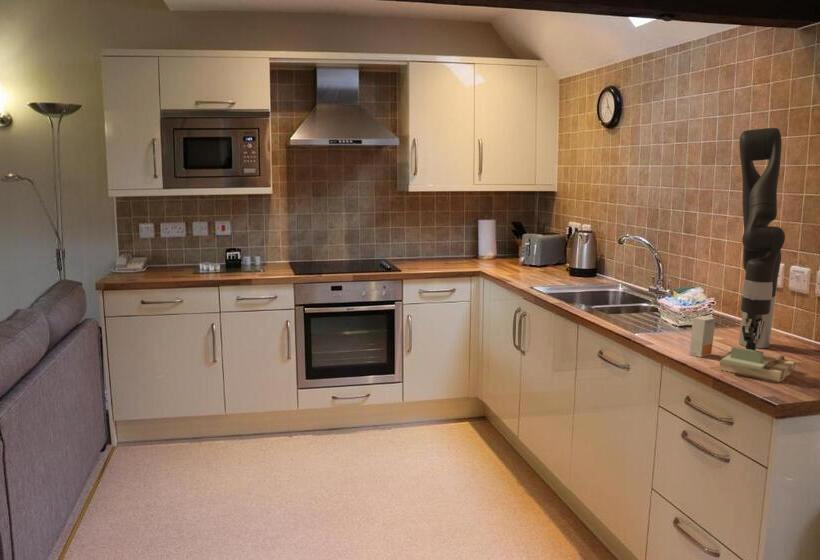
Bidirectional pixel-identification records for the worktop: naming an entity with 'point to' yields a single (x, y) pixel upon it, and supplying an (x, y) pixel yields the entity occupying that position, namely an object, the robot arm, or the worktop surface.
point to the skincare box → (702, 336)
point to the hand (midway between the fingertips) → (750, 354)
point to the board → (771, 372)
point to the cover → (746, 358)
